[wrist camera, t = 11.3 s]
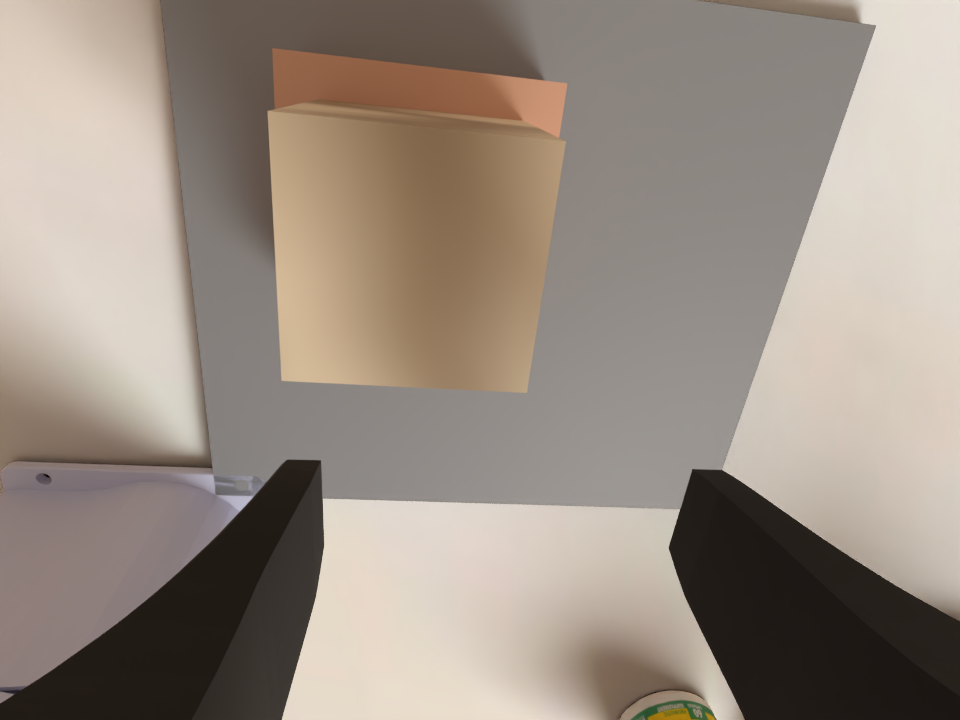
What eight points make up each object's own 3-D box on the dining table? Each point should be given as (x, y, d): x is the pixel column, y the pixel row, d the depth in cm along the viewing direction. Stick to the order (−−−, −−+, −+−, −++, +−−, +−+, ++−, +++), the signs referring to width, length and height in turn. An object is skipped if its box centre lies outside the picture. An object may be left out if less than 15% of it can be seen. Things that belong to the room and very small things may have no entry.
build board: (220, 485, 23) (186, 552, 20) (161, -72, 15) (90, -111, 12) (701, 500, 25) (741, 562, 22) (862, 26, 18) (960, 16, 14)
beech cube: (321, 296, 16) (281, 381, 12) (318, 99, 14) (267, 110, 10) (499, 307, 17) (527, 393, 12) (523, 120, 15) (566, 141, 10)
